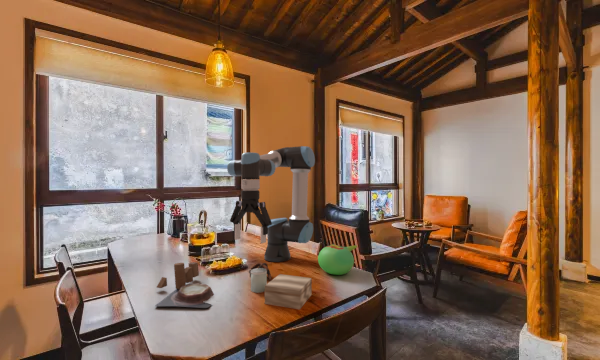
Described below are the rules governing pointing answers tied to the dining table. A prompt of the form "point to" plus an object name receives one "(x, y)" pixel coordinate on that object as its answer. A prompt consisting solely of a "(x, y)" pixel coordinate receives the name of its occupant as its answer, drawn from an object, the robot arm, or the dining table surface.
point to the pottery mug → (261, 267)
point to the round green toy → (336, 259)
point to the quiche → (189, 296)
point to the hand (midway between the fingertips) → (250, 241)
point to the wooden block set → (182, 275)
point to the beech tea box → (288, 291)
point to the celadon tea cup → (258, 280)
